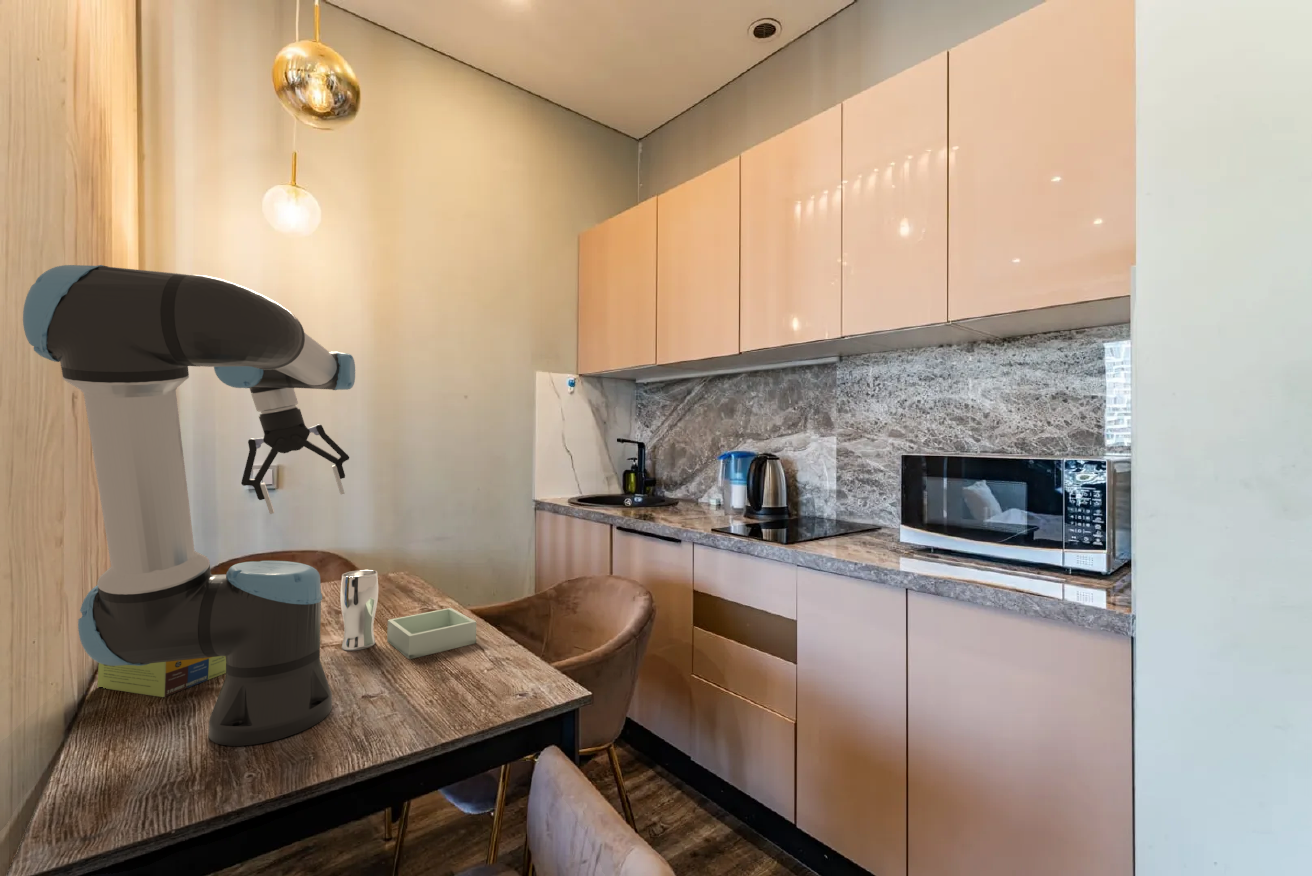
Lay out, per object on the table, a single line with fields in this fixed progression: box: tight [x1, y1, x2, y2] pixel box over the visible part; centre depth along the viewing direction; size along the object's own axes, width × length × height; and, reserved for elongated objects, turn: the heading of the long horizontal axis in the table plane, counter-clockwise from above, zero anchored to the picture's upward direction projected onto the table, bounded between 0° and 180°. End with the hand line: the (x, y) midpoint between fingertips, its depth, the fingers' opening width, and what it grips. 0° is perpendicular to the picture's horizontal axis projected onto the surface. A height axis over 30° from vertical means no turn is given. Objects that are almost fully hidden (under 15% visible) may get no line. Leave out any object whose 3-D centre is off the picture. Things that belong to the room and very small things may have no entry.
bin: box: [386, 607, 477, 660], centre depth 116 cm, size 14×14×4 cm
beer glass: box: [339, 569, 379, 652], centre depth 114 cm, size 7×7×15 cm
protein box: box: [97, 656, 226, 698], centre depth 96 cm, size 10×15×16 cm
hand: (308, 502), depth 121 cm, fingers open, 13 cm apart
